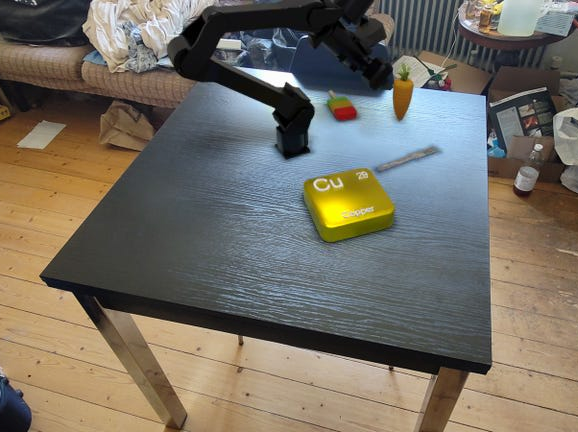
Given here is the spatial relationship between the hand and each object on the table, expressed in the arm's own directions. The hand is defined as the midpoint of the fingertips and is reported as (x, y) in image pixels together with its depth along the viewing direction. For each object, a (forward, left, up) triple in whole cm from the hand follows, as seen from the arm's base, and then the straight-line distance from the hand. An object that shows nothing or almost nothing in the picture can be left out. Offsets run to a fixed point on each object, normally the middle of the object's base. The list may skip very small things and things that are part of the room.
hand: (381, 80), depth 104 cm
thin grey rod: (-2, -15, -13) cm, 20 cm away
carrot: (+7, 0, -13) cm, 14 cm away
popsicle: (-3, +14, -13) cm, 19 cm away
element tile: (-23, -23, -13) cm, 35 cm away
